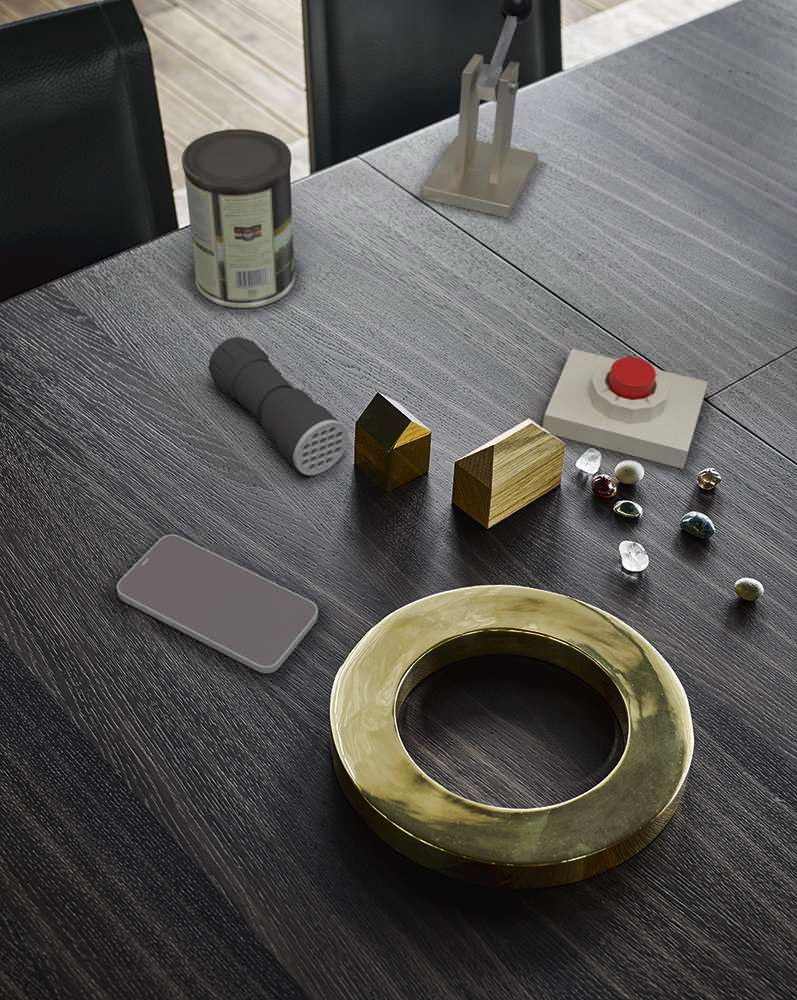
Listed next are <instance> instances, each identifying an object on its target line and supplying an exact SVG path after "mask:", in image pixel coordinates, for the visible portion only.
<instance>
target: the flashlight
mask: <svg viewBox="0 0 797 1000" xmlns="http://www.w3.org/2000/svg"><path fill="white" fill-rule="evenodd" d="M208 370H209V373H210V376H211V378H212V381H213V382H214V383H215V385H216V386H217V387H218V388H220V390H221V391H222V392H223V393H224V394H225V395H226V396H228V397H230V398H231V397H232V398H234V400H236V401H238V403H239V404H241V406H242V407H243V408H245V409H247V410H248V411H249V412H251V413H252V415H254V417H255V418H256V419H258V421H259V422H260V423H261V428H262V430H263V432H264V433H265V434H267V436H268V437H269V438H270V439H271V440H272V442H273V441H274V442H275V444H276V446H277V448H278V450H279V452H280V453H281V454H282V455H283V457H285V458H286V459H287V460H288V461H289V462H290V463H291V464H292V465H293V466H294V467H295V468H296V469H297V470H298V471H299V472H300V473H301V474H303V475H306V476H317V475H319V474H321V473H325V472H326V471H327V470H329V469H330V468H332V467H333V466H334V465H335V464H336V463H337V462H338V461H339V460H340V459H341V457H342V456H343V454H344V453H345V451H346V449H347V446H348V442H349V431H348V429H347V427H346V426H345V425H344V424H343V423H342V422H341V421H339V419H337V417H335V416H334V415H333V414H332V413H331V412H330V411H329V410H328V409H327V408H326V407H324V406H323V405H322V404H319V403H317V402H316V401H314V400H313V398H311V397H310V395H308V393H307V392H305V391H304V390H303V389H300V388H295V387H294V386H293V385H291V383H290V382H289V381H288V380H286V379H285V378H284V376H283V375H282V374H281V372H280V371H279V369H278V368H277V367H276V366H275V365H274V364H272V362H271V361H270V359H269V356H268V354H267V353H266V352H265V351H264V350H263V349H262V348H261V347H260V346H259V345H258V344H257V343H255V342H254V341H253V340H250V339H249V338H244V337H242V336H234V337H230V338H227V339H226V340H224V341H222V342H221V343H220V344H218V346H217V347H216V348H215V349H214V350H213V352H212V353H211V355H210V359H209V361H208Z"/></svg>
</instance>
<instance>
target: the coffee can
mask: <svg viewBox="0 0 797 1000" xmlns="http://www.w3.org/2000/svg"><path fill="white" fill-rule="evenodd" d="M291 166H292V152H291V149H290V148H289V146H288V145H287V144H286V143H285V142H284V141H283V140H281V139H280V138H278V137H276V136H275V135H273V134H270V133H267V132H264V131H259V130H254V129H247V128H246V129H245V128H244V129H243V128H233V129H223V130H217V131H214V132H210V133H206V134H204V135H201V136H200V137H197V138H196V139H195V140H193V141H192V142H191V143H189V144H188V145H187V146H186V147H185V149H184V150H183V152H182V155H181V167H182V171H183V172H184V181H185V190H186V199H187V200H186V201H187V209H188V218H189V226H190V235H191V245H192V255H193V264H194V275H195V276H194V282H195V286H196V288H197V290H198V292H199V293H200V294H201V295H202V296H203V297H204V298H205V299H207V300H209V301H211V302H212V303H215V304H217V305H219V306H222V307H227V308H231V309H253V308H260V307H264V306H267V305H270V304H272V303H275V302H277V301H279V300H281V299H282V298H284V297H285V296H286V295H288V293H289V292H290V291H291V290H292V288H293V286H294V284H295V281H296V271H295V262H294V261H295V260H294V259H295V258H294V239H293V238H294V236H293V235H294V234H293V233H294V232H293V210H292V209H293V207H292V182H291V181H292V180H291V177H292V176H291Z"/></svg>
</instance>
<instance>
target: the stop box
mask: <svg viewBox="0 0 797 1000" xmlns="http://www.w3.org/2000/svg"><path fill="white" fill-rule="evenodd" d="M618 359H619V358H612V357H608V356H605V355H601V354H597V353H593V352H588V351H583V350H580V349H575V348H571V350H570V352H569V353H568V356H567V359H566V361H565V364H564V367H563V369H562V371H561V374H560V376H559V379H558V381H557V383H556V386H555V388H554V391H553V392H552V395H551V398H550V400H549V402H548V404H547V407H546V410H545V412H544V416H543V421H542V428H544V429H545V430H547V431H548V432H550V433H551V434H550V435H551V436H555V437H560V438H562V439H563V438H564V439H568V440H571V441H575V442H579V443H583V444H586V445H590V446H594V447H598V448H601V449H605V450H609V451H612V452H616V453H619V454H625V455H629V456H632V457H635V458H639V459H644V460H647V461H650V462H651V461H652V462H656V463H658V464H663V465H666V466H670V467H674V468H678V469H682V470H684V469H685V466H686V465H685V464H686V461H687V459H688V458H687V457H688V454H689V451H690V447H691V444H692V440H693V438H694V435H695V434H694V433H695V431H696V426H697V423H698V419H699V416H700V412H701V409H702V405H703V402H704V399H705V395H706V391H707V387H708V383H709V381H705V380H702V379H697V378H693V377H689V376H685V375H681V374H677V373H673V372H669V371H664V370H662V369H659V368H658V367H656V366H654V365H653V364H651V363H650V364H651V365H652V366H653V367H654V369H655V372H656V377H655V381H654V385H653V390H652V392H651V394H650V395H649V396H648V397H646V398H644V399H637V400H630V399H626V398H622V397H618V396H617V395H616V394H614V393H613V392H612V391H611V390H610V388H609V385H608V381H609V376H610V371H611V366H612V364H613V363H614V362H615V361H617V360H618Z"/></svg>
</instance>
